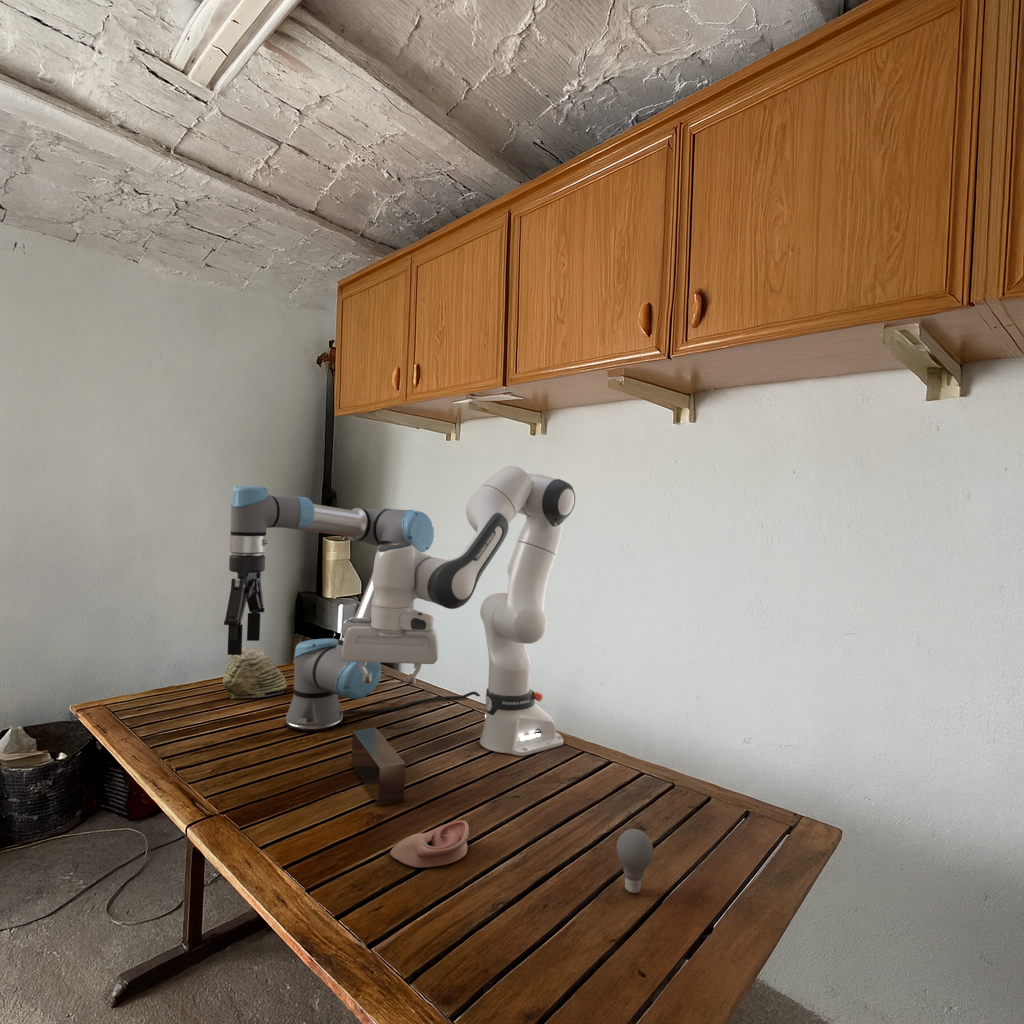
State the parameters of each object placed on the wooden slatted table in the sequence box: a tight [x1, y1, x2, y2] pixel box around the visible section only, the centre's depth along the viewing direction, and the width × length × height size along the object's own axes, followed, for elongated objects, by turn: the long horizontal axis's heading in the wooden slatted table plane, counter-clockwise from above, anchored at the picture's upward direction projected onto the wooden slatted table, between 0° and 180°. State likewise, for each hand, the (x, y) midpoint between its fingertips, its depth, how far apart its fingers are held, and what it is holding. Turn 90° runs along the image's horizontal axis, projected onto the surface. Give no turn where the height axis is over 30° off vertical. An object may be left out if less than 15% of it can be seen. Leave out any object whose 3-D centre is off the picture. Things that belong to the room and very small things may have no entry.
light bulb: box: [615, 828, 654, 894], centre depth 106 cm, size 6×6×10 cm
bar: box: [351, 727, 406, 807], centre depth 142 cm, size 22×6×8 cm, turn 28°
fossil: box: [222, 646, 288, 699], centre depth 198 cm, size 9×18×15 cm, turn 132°
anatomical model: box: [389, 819, 470, 869], centre depth 115 cm, size 13×4×12 cm
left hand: (244, 647), depth 144 cm, fingers open, 13 cm apart
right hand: (389, 682), depth 135 cm, fingers open, 8 cm apart
